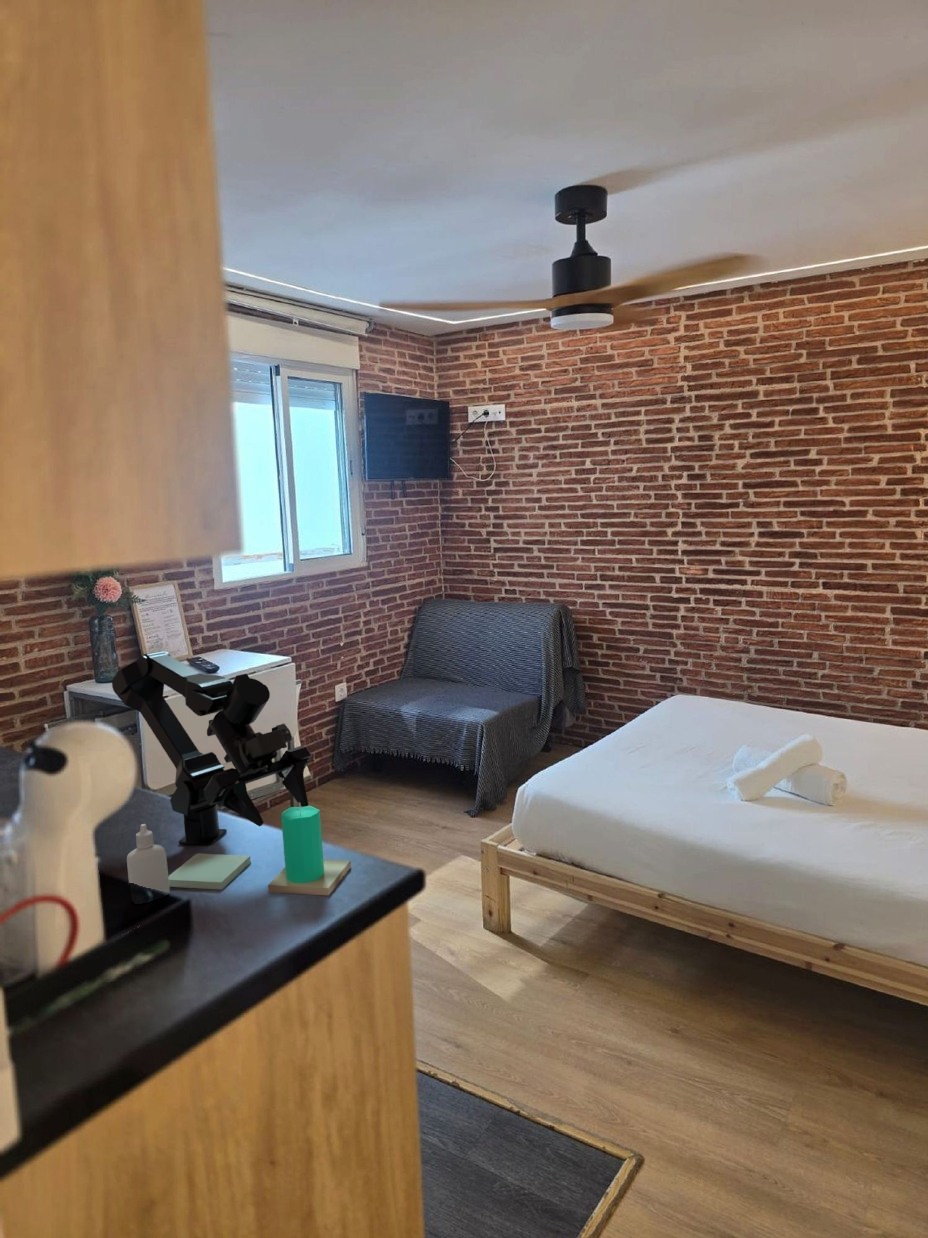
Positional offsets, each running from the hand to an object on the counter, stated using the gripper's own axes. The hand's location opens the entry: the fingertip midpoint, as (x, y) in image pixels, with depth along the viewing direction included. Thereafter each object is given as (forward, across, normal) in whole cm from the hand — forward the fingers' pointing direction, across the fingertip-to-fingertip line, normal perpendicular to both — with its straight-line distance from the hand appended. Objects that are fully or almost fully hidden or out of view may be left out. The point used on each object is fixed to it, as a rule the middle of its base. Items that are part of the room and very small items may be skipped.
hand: (284, 815), depth 134 cm
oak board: (+11, 0, +3) cm, 11 cm away
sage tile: (0, -8, +14) cm, 16 cm away
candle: (+10, -1, +2) cm, 10 cm away
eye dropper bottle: (-1, -19, +14) cm, 24 cm away
